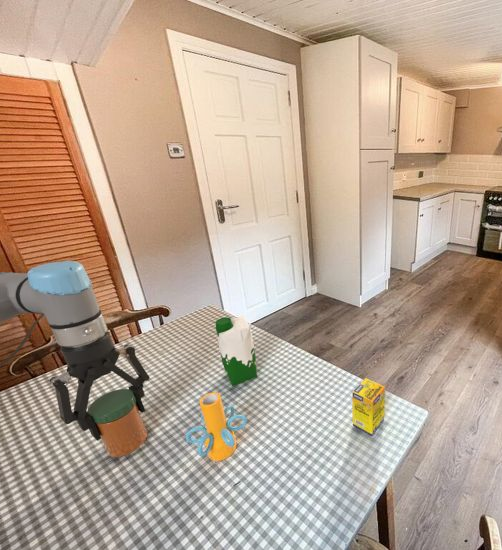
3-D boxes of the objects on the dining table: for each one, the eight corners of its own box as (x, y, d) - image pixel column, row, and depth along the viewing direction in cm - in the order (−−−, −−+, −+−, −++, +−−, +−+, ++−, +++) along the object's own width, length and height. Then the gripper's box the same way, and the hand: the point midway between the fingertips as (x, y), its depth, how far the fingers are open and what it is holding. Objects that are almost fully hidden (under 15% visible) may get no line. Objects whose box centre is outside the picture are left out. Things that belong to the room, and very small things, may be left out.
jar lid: (100, 430, 62) (96, 422, 61) (83, 414, 66) (80, 406, 65) (143, 404, 69) (140, 397, 68) (126, 390, 73) (123, 384, 72)
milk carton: (223, 373, 94) (211, 316, 86) (253, 362, 98) (244, 308, 91) (229, 390, 87) (216, 330, 79) (261, 377, 92) (252, 320, 84)
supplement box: (372, 437, 72) (372, 402, 68) (352, 425, 76) (351, 391, 71) (384, 420, 77) (385, 386, 73) (365, 410, 80) (365, 377, 76)
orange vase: (190, 481, 63) (173, 428, 57) (194, 440, 72) (180, 391, 66) (252, 459, 67) (242, 408, 62) (249, 423, 76) (239, 376, 71)
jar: (106, 441, 72) (89, 403, 67) (144, 423, 76) (130, 386, 72) (108, 464, 66) (90, 424, 62) (149, 443, 71) (135, 405, 67)
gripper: (15, 374, 50) (66, 468, 59) (150, 319, 67) (175, 399, 75) (2, 360, 54) (52, 450, 62) (133, 311, 70) (159, 388, 79)
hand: (119, 422), depth 69 cm, fingers closed on jar lid, 8 cm apart
